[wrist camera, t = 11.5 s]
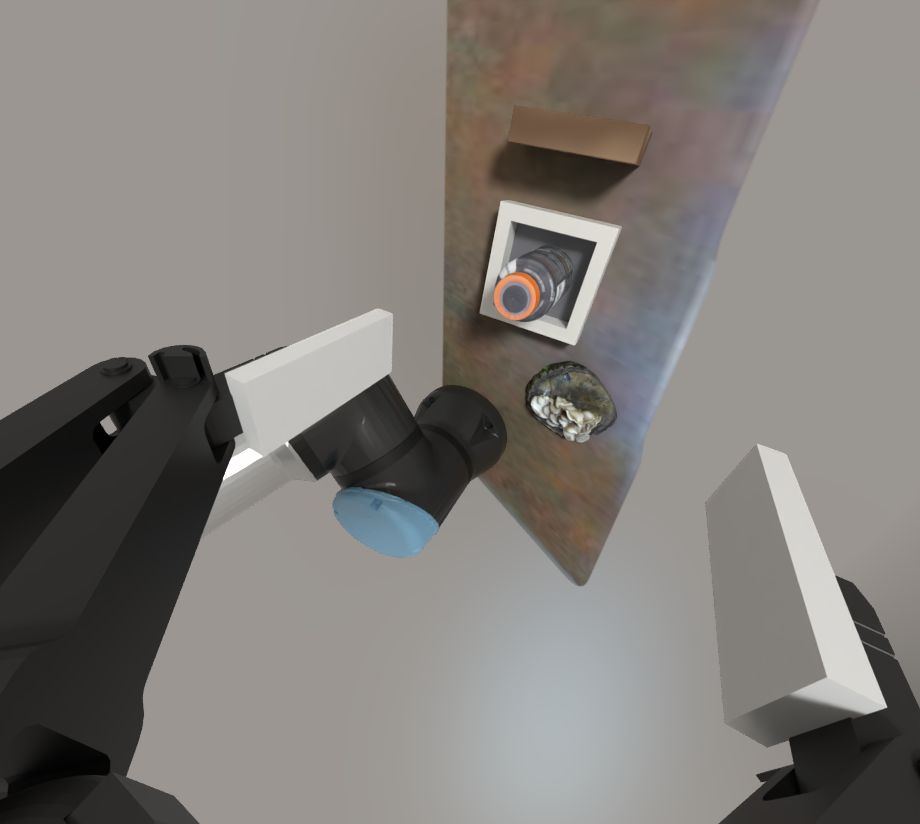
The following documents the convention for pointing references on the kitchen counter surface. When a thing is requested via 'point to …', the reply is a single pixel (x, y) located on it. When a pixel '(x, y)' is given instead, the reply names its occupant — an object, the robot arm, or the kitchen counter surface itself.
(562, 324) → the plate
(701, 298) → the kitchen counter surface
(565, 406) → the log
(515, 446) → the kitchen counter surface
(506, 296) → the pill bottle
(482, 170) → the kitchen counter surface
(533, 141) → the door edge
